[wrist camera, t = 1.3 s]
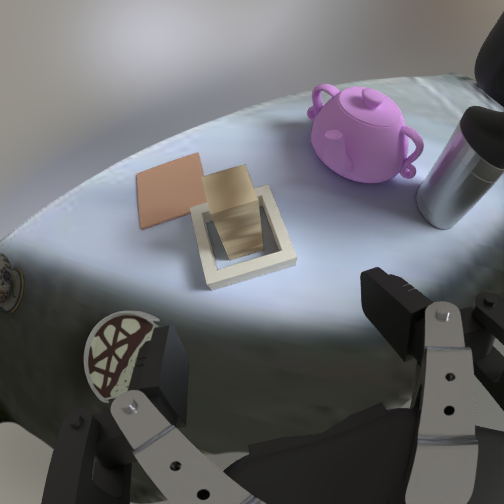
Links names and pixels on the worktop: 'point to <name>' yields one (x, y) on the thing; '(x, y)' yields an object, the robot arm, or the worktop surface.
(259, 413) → the worktop surface
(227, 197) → the beech block
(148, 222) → the mat
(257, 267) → the collar frame
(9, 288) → the apothecary jar
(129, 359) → the cream brown half-disc piece
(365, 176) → the teapot
